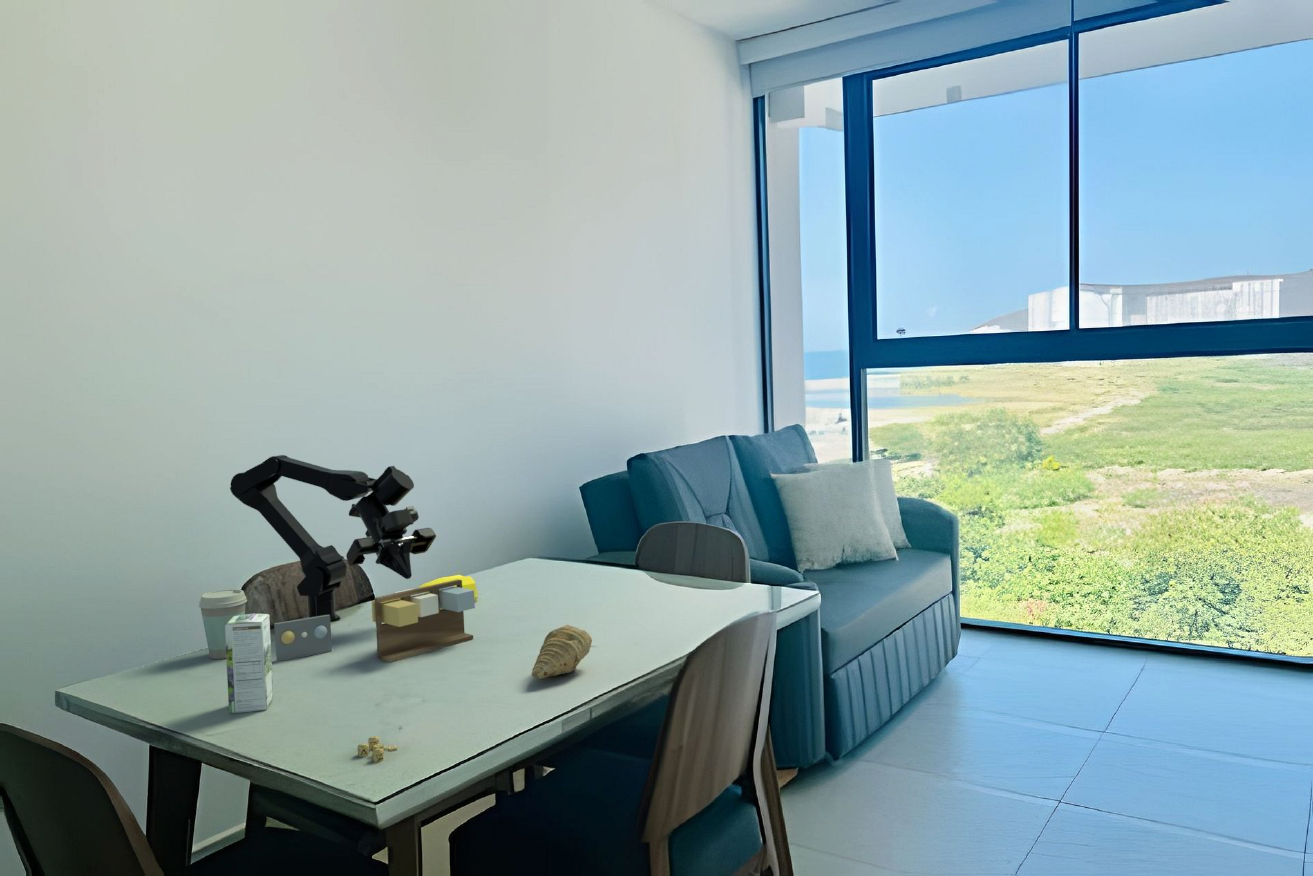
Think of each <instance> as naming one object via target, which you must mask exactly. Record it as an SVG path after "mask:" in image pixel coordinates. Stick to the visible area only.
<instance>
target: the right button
mask: <svg viewBox="0 0 1313 876" xmlns="http://www.w3.org/2000/svg"><path fill="white" fill-rule="evenodd" d="M439 597H440V608H442V609H446V610H451V611H455V612H461V611H463V612H465V611H469V610H472V609H475V608H476V604H475V602H476V600H474V590H470V589H465V588H460V587H455V586H451V587H447V588H442V589H439Z"/></svg>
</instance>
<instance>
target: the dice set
mask: <svg viewBox="0 0 1313 876" xmlns="http://www.w3.org/2000/svg"><path fill="white" fill-rule="evenodd" d="M367 741H368V743H362V744H359V745H357V756H358V757H359V758H361V757H362V758H365V757H368V756H369V755H370V750H372V751H371V753H372V756H371V757H372V762H375V763H379V762H382V761H384V759H385V751H387V747H386V746H385V745H383V744H380V743H381V742H380V737H379V736H370V737H369V738H368V740H367ZM388 750H389V752H393V751H394V752H395V751H398V747H397V745H390V746H388Z"/></svg>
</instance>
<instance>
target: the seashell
mask: <svg viewBox="0 0 1313 876" xmlns="http://www.w3.org/2000/svg"><path fill="white" fill-rule="evenodd" d="M543 640H544V641H543V643H542V644H541V647H540V649H539V654H538V655H537V658H536V660H535V662H534V665H533V668H532V672H531V677H533V678H535V679H538V680H541V679H544V678H547V677H552V676H553V677H555V676H558V675H566V673H567V674H570V673H571V672H574V671H575V670H576V669H577V667H578V665H579V664H580V662H581V661H582V660H583V659H584V658H585V657H586V656H587V655H588V654H589V653H590V652H591V651H590V650H591V646H592V642H593V639H592V636H591V635H590V634H589V633H588V632H587V631H586V630H584V629H580V628H578V627H575V626H572V625H569V624H566V625H564V626H560V627H558V628H555V629H553V630H551V631H549V633H548V634H547V635H546V636H545V638H544V639H543Z"/></svg>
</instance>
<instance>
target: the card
mask: <svg viewBox="0 0 1313 876" xmlns="http://www.w3.org/2000/svg"><path fill="white" fill-rule="evenodd" d="M273 626H274V628H273V629H274V640H275V641H274V642H275V656H276V657H275V658H276V661H277V662H280V660H282V661H287V660H291V659H292V660H293V659H297V658H298V659H299V658H302V657H307V656H308V657H309V656H312V655H313V656H314V655H318V654H319V655H320V654H325V653H329V651H331V652H333V646H332V645H333V644H332V628H331V621H330V615H323V616H316V617H310V618H298V619H293V620H288V621H282V622H281V621H279V622H274V624H273Z"/></svg>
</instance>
